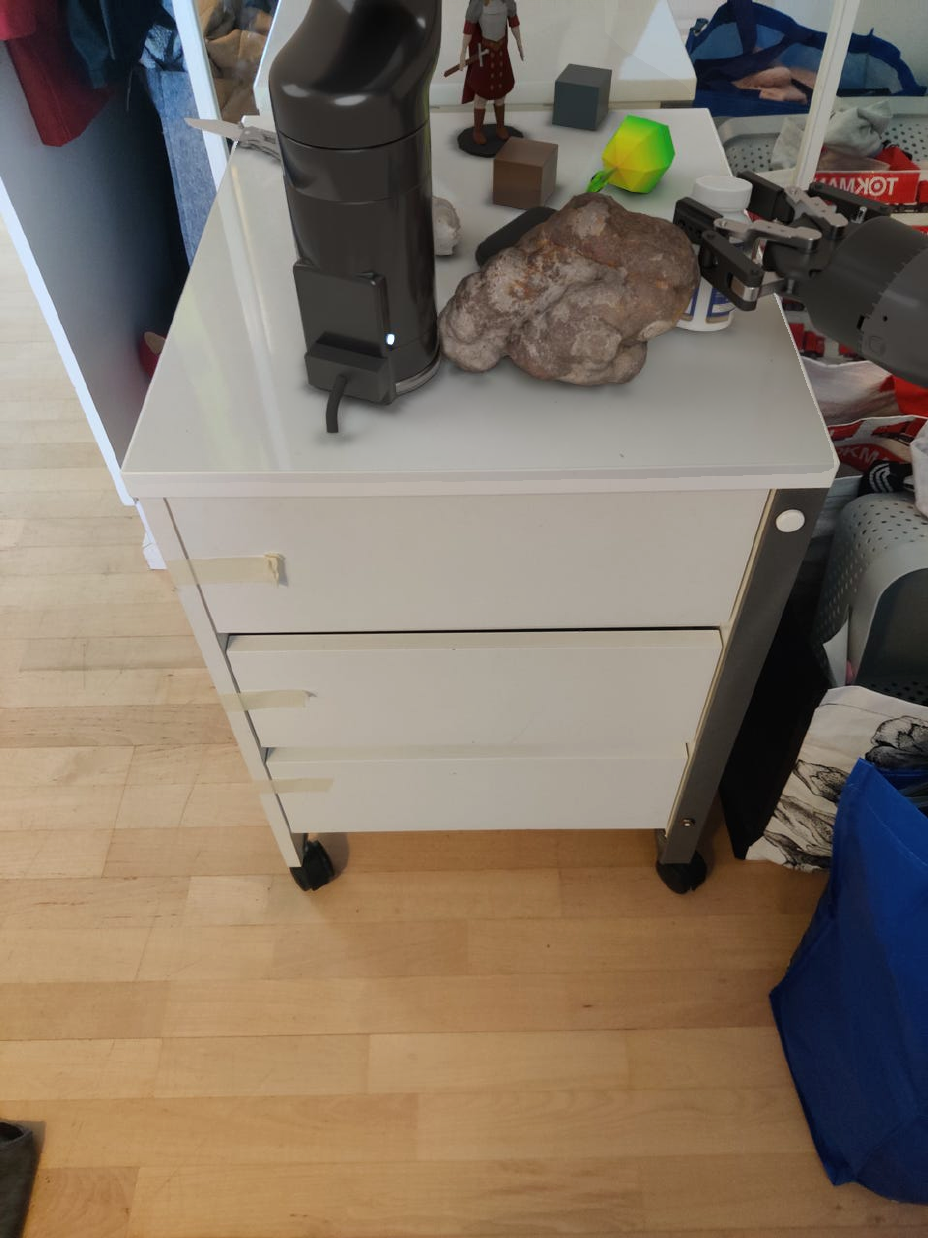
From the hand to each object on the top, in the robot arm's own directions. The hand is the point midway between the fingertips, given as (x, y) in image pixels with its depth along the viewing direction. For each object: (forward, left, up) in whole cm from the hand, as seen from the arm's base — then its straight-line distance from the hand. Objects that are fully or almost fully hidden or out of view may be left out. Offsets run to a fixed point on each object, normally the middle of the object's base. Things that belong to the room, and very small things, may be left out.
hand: (708, 198), depth 63 cm
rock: (-6, +8, -3) cm, 10 cm away
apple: (+16, +9, -9) cm, 21 cm away
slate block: (+29, +18, -9) cm, 35 cm away
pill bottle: (-2, -1, -8) cm, 9 cm away
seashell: (+4, +26, -9) cm, 28 cm away
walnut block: (+12, +18, -9) cm, 23 cm away
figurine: (+22, +25, -9) cm, 34 cm away
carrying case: (0, +10, -9) cm, 13 cm away
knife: (+10, +46, -8) cm, 48 cm away
